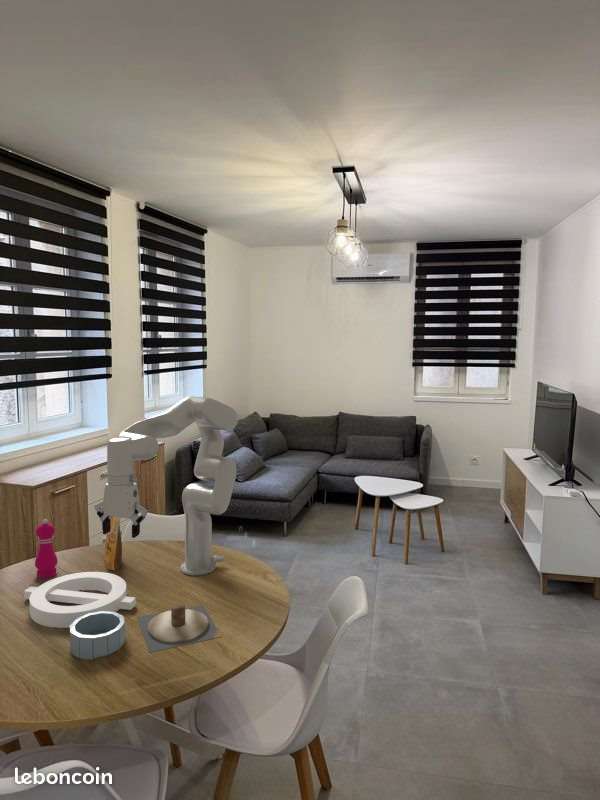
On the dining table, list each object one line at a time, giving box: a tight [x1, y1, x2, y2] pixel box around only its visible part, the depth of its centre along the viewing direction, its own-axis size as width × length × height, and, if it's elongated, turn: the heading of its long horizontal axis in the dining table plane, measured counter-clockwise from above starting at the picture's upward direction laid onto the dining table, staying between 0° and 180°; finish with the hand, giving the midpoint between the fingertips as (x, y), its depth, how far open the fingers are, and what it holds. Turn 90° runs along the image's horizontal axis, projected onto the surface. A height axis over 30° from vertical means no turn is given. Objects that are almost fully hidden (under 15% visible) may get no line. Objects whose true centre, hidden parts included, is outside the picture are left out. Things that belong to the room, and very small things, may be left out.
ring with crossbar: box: [23, 571, 137, 629], centre depth 172 cm, size 28×28×5 cm
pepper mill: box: [34, 518, 58, 579], centre depth 192 cm, size 7×7×20 cm
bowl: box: [69, 611, 126, 661], centre depth 150 cm, size 14×14×6 cm
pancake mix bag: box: [103, 516, 123, 572], centre depth 203 cm, size 7×19×28 cm, turn 24°
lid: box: [148, 603, 208, 643], centre depth 160 cm, size 17×17×6 cm
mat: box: [137, 604, 219, 653], centre depth 160 cm, size 20×20×1 cm
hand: (121, 534), depth 167 cm, fingers open, 9 cm apart
